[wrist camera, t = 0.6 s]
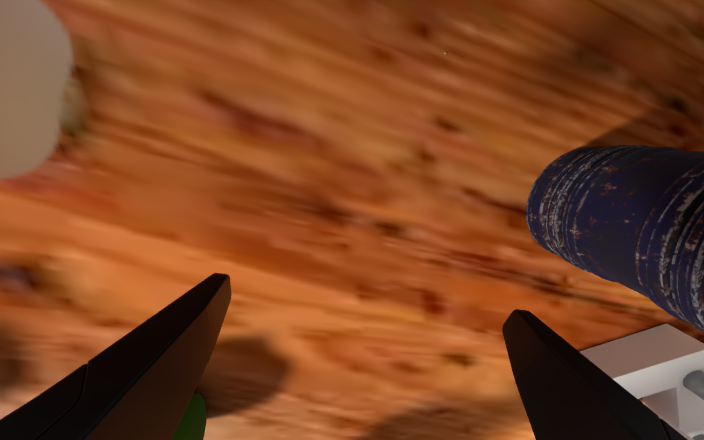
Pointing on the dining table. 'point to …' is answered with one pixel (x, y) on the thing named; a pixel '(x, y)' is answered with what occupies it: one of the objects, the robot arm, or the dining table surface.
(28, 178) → the dining table surface
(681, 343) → the holder
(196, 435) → the bell pepper
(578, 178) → the storage jar
